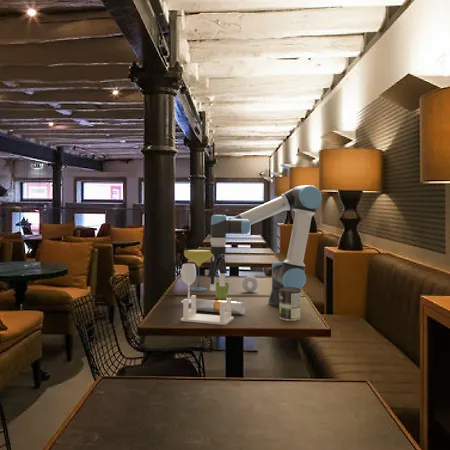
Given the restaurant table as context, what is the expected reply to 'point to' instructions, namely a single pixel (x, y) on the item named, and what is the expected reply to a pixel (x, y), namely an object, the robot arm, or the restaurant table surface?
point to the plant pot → (221, 291)
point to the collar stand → (191, 314)
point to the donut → (247, 279)
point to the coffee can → (289, 303)
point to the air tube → (215, 306)
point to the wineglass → (188, 276)
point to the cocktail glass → (198, 261)
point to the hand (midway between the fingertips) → (217, 288)
